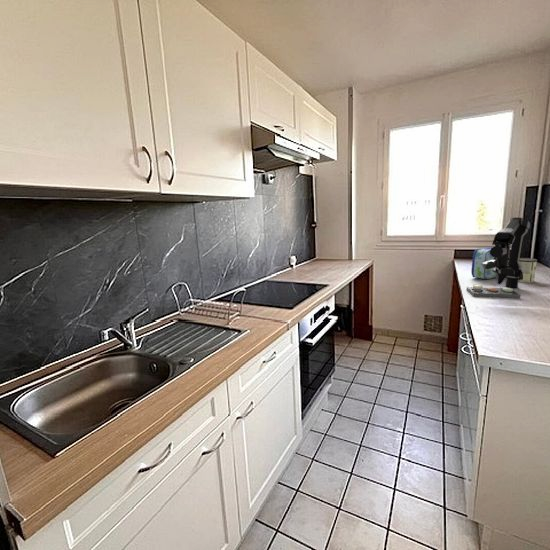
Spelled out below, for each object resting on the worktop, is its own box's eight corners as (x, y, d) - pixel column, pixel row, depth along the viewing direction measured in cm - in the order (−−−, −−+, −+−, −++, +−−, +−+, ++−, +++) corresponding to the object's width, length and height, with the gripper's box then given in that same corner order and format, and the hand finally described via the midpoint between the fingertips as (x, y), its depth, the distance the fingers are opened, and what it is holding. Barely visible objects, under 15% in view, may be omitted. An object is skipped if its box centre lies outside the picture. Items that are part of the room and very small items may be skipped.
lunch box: (489, 273, 223) (493, 244, 218) (506, 276, 213) (510, 246, 209) (468, 278, 211) (470, 247, 207) (484, 281, 202) (488, 249, 197)
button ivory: (471, 290, 173) (472, 284, 172) (480, 290, 172) (481, 285, 171) (473, 292, 169) (474, 286, 168) (483, 292, 168) (483, 286, 167)
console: (466, 291, 178) (466, 286, 178) (509, 293, 172) (509, 288, 171) (473, 298, 165) (473, 293, 165) (520, 300, 159) (520, 294, 158)
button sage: (500, 293, 169) (501, 287, 168) (510, 293, 168) (510, 287, 167) (503, 295, 165) (504, 289, 164) (513, 295, 163) (514, 289, 163)
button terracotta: (485, 292, 171) (486, 287, 170) (495, 292, 170) (495, 287, 169) (488, 294, 167) (489, 288, 166) (498, 295, 166) (498, 289, 165)
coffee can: (513, 278, 206) (515, 257, 203) (532, 279, 201) (535, 258, 198) (514, 281, 198) (517, 259, 195) (535, 283, 192) (538, 260, 189)
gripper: (479, 253, 174) (476, 280, 177) (491, 257, 157) (487, 287, 160) (502, 253, 171) (498, 280, 174) (517, 258, 153) (513, 288, 156)
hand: (499, 284), depth 166 cm, fingers closed
